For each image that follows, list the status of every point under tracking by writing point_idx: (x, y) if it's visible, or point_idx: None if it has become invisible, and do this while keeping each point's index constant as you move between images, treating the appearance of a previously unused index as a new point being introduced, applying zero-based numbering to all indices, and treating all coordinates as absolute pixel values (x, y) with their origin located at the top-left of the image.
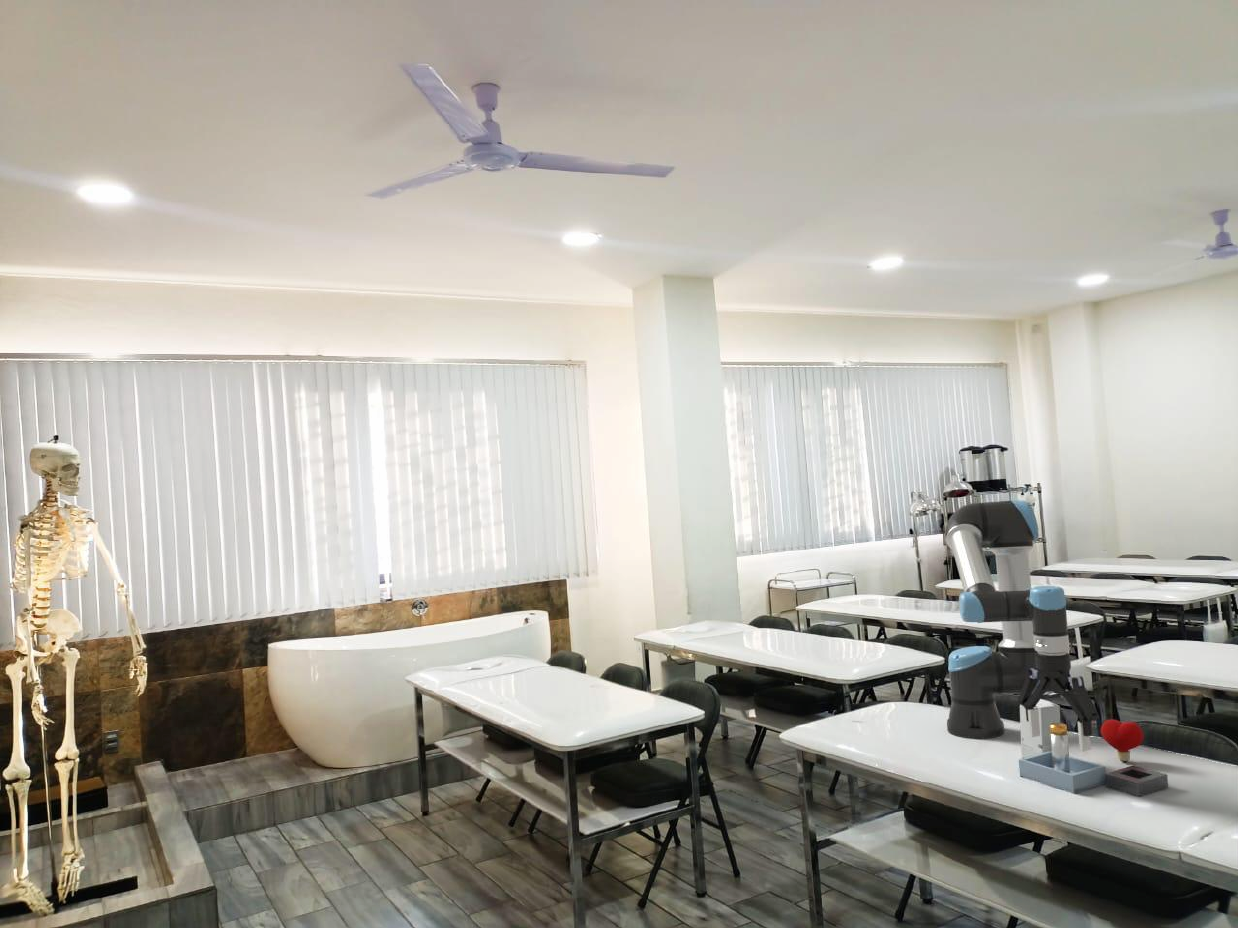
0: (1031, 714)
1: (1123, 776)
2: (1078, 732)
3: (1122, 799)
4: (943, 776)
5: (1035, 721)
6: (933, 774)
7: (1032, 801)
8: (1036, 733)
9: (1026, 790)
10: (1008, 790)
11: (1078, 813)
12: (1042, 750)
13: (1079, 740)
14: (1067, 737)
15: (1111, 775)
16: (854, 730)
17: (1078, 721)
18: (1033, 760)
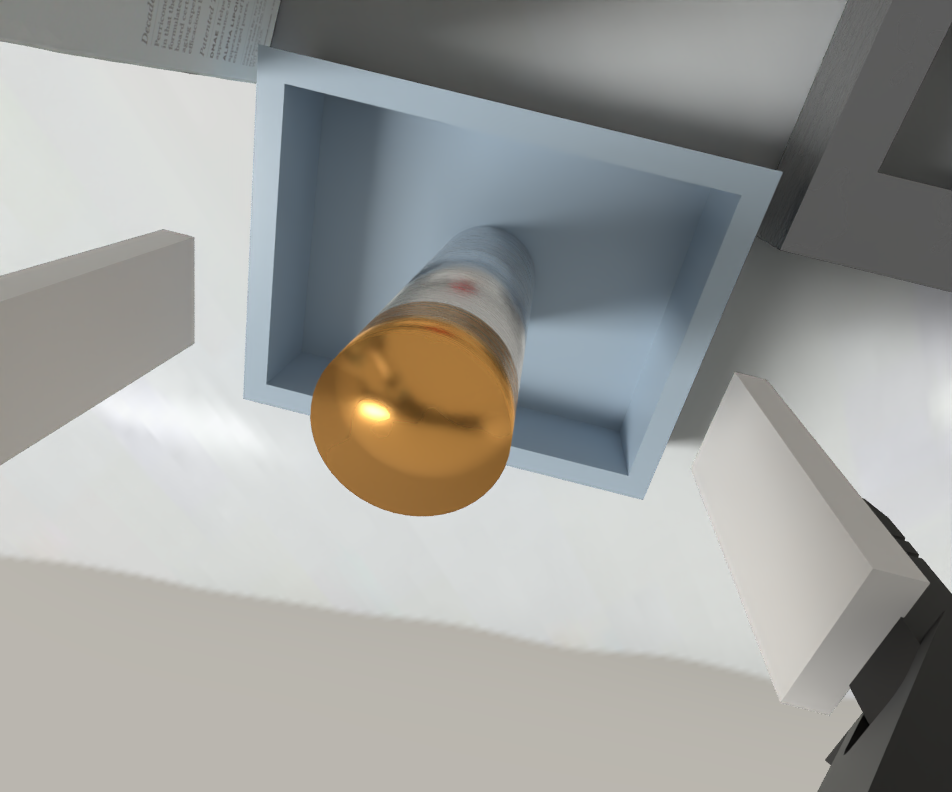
0: (11, 439)
1: (922, 227)
2: (735, 582)
3: (884, 384)
4: (79, 549)
5: (88, 339)
6: (36, 550)
7: (519, 617)
8: (178, 297)
9: (431, 520)
10: (374, 558)
11: (731, 642)
12: (205, 74)
13: (717, 527)
14: (517, 352)
15: (834, 261)
16: None
17: (792, 693)
18: (282, 291)
